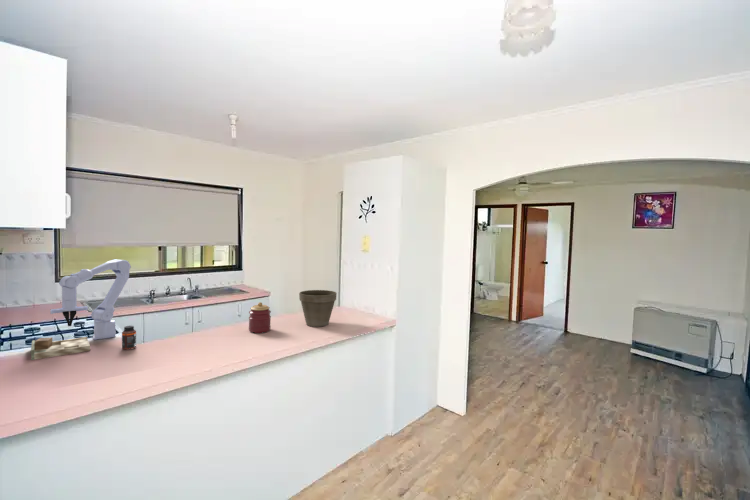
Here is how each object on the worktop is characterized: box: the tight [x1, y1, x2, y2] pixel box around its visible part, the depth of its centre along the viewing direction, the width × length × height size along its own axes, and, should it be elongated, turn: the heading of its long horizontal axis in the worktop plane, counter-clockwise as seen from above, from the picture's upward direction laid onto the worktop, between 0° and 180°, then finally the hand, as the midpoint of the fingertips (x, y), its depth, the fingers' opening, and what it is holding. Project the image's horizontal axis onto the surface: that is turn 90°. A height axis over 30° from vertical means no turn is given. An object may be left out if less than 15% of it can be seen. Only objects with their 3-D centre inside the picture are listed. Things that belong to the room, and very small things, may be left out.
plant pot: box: [298, 289, 337, 328], centre depth 239 cm, size 25×25×22 cm
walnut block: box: [35, 337, 53, 350], centre depth 172 cm, size 5×5×4 cm
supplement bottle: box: [121, 325, 137, 351], centre depth 181 cm, size 6×6×11 cm
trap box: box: [30, 336, 91, 361], centre depth 175 cm, size 21×18×4 cm
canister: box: [248, 301, 272, 334], centre depth 219 cm, size 13×13×18 cm
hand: (69, 325), depth 183 cm, fingers closed
